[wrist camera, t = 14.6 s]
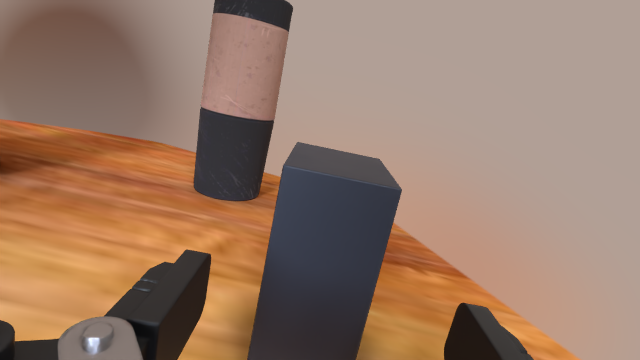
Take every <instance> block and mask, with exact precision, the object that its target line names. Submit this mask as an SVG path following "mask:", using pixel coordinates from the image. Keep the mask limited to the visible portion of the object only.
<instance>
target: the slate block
mask: <svg viewBox="0 0 640 360" xmlns="http://www.w3.org/2000/svg"><path fill="white" fill-rule="evenodd" d="M401 191H402V189H401V188H400V186H399V185H398V184H397V182H396V181H395V179H394V178H393V177H392V175H391V174H390V173H389V171H388V170H387V169H386V167H385V166H384V165H383V163H382V162H381V161H380V159H377V158H372V157H367V156H362V155H357V154H352V153H348V152H343V151H338V150H334V149H328V148H324V147H319V146H314V145H309V144H304V143H300V142H297V144H296V145H295V147H294V148H293V150H292V152H291V154H290V155H289V157H288V159H287V160H286V162H285V164H284V165H283V169H282V174H281V180H280V185H279V191H278V196H277V201H276V207H275V212H274V218H273V223H272V228H271V234H270V239H269V245H268V250H267V255H266V261H265V266H264V272H263V277H262V282H261V288H260V293H259V298H258V304H257V309H256V315H255V320H254V325H253V331H252V336H251V342H250V347H249V352H248V358H247V360H356V357H357V353H358V349H359V346H360V342H361V338H362V335H363V331H364V327H365V324H366V320H367V316H368V313H369V309H370V305H371V302H372V298H373V294H374V291H375V287H376V283H377V280H378V276H379V272H380V269H381V265H382V261H383V258H384V254H385V250H386V247H387V243H388V239H389V236H390V232H391V228H392V225H393V221H394V217H395V214H396V210H397V206H398V203H399V199H400V195H401Z"/></svg>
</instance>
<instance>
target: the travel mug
mask: <svg viewBox="0 0 640 360" xmlns="http://www.w3.org/2000/svg"><path fill="white" fill-rule="evenodd" d="M292 12H293V7H292V5H291V4H290V3H288V2H287V1H285V0H215V3H214V11H213V19H212V25H211V33H210V40H209V48H208V56H207V63H206V70H205V78H204V86H203V93H202V100H201V109H200V119H199V130H198V141H197V152H196V163H195V174H194V188H195V189H196V190H197V191H198V192H200V193H202V194H204V195H206V196H209V197H213V198H217V199H223V200H232V201H243V200H250V199H254V198H256V197H257V196H258V194H259V191H260V186H261V182H262V177H263V172H264V167H265V162H266V157H267V152H268V148H269V142H270V138H271V133H272V129H273V123H274V119H275V112H276V106H277V100H278V94H279V87H280V82H281V76H282V70H283V64H284V58H285V51H286V45H287V40H288V34H289V33H288V32H289V28H290V21H291V16H292Z"/></svg>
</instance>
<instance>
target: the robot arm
mask: <svg viewBox="0 0 640 360" xmlns="http://www.w3.org/2000/svg"><path fill="white" fill-rule="evenodd" d="M210 265H211V254H208V253H203V252H197V251H192V250H185V251H184V253H183V254H182V255H181V256H180V257H179V258H178V260H177V261H176V262H175V263H174V264H173V263H168V262H163V263H161V264H159V265H157V266H155V267H153V268H151V269H149V270H148V271H147V272H146V273H145V274H144V275H143V276H142V278H141V279H140V281H138V282H137V283H136V284H135V285H134V286H133V287H132V289H130V290H129V291H128V292H127V293H126V294H125V295H124V296H123V297H122V298H121V299H120V300H119V301H118V302H117V303H116V304H115V305H114V306H113V307H112V308H111V309H110V310H109V311H108V312H107V314H106V315H105V316H104V317H95V318H91V319H87V320H84V321H81V322H79V323H77V324H75V325H73V326H71V327H70V328H69V329H67V330H66V331H65V332H64V333H63V334H62V335H61V337H60V339H52V340H34V341H15V331H14V328H13V327H12V326H11V325H10V324H9V323H7V322H4V321H1V320H0V360H177V359H178V357H179V355H180V354H181V352H182V350H183V348H184V346H185V344H186V343H187V341H188V339H189V337H190V335H191V333H192V332H193V330H194V328H195V326H196V324H197V322H198V321H199V319H200V316H201V314H202V311H203V308H204V304H205V300H206V293H207V286H208V279H209V272H210ZM444 360H533V358H532V357H531V356H530V355H529V354H527V351H526V349H525V348H524V347H523V345H522V344H521V343H520V342H519V340H518V339H517V338H516V337H515V336H513V335H512V334H511V333H510V332H509V331H507V330H506V329H505V328H504V327H502V326H501V325H500V324H499V323H498V321H497V320H496V319H495V317H494V316H493V315H492V313H491V312H490V311H489V309H488V308H486V307H482V306H477V305H472V304H467V303H461V304H460V305H459V306H458V308H457V310H456V313H455V316H454V319H453V322H452V325H451V328H450V331H449V334H448V337H447V340H446V343H445V347H444Z"/></svg>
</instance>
